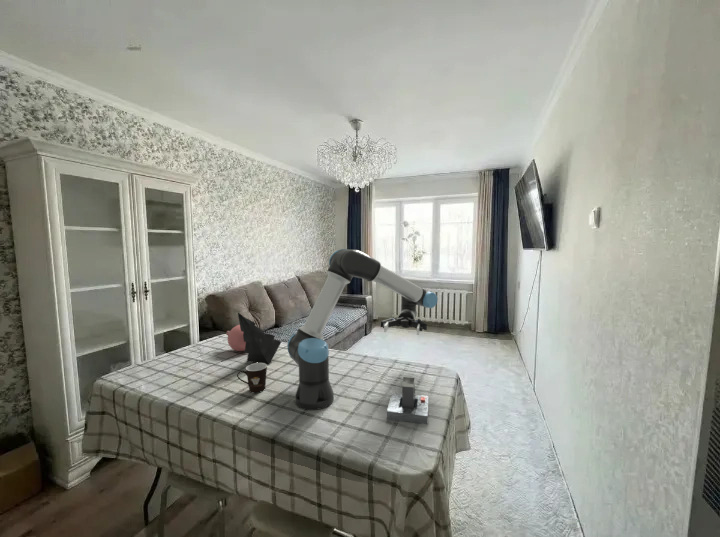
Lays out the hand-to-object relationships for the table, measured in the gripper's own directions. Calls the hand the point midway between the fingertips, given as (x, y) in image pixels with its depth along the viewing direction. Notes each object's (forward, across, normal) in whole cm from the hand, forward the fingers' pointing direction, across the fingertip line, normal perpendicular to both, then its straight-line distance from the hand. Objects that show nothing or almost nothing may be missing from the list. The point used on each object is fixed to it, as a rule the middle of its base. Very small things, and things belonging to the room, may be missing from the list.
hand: (401, 330), depth 127 cm
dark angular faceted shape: (-13, +76, -27) cm, 82 cm away
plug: (+15, -5, -25) cm, 30 cm away
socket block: (+15, -5, -26) cm, 30 cm away
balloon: (-29, +98, -27) cm, 106 cm away
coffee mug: (+13, +61, -27) cm, 68 cm away
